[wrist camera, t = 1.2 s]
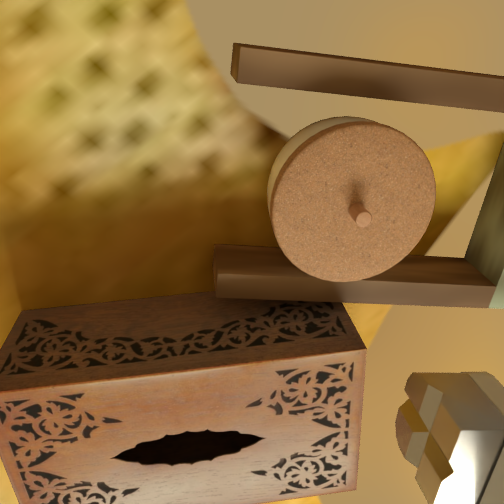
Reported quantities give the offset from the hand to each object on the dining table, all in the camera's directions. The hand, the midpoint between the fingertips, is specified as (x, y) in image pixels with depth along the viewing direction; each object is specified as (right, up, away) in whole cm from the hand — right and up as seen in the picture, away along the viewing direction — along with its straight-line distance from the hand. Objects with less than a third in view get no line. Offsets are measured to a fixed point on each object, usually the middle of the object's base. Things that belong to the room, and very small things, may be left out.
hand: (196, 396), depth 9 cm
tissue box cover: (-5, -7, +35) cm, 36 cm away
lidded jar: (+7, +9, +29) cm, 31 cm away
